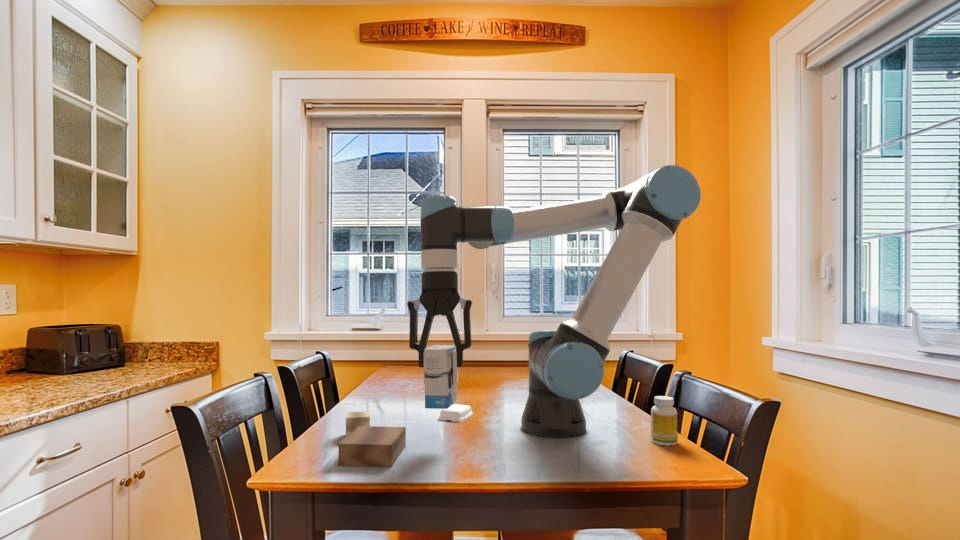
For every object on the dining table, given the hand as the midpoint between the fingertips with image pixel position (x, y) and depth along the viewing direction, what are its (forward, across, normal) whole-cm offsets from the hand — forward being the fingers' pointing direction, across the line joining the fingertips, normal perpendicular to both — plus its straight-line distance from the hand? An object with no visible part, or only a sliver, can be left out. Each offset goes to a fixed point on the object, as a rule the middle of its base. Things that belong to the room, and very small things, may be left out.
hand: (441, 382), depth 101 cm
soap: (+14, 0, -26) cm, 30 cm away
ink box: (+5, 0, 0) cm, 5 cm away
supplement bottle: (+15, -47, -8) cm, 50 cm away
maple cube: (+13, +20, -7) cm, 25 cm away
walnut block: (+13, +13, +5) cm, 19 cm away
